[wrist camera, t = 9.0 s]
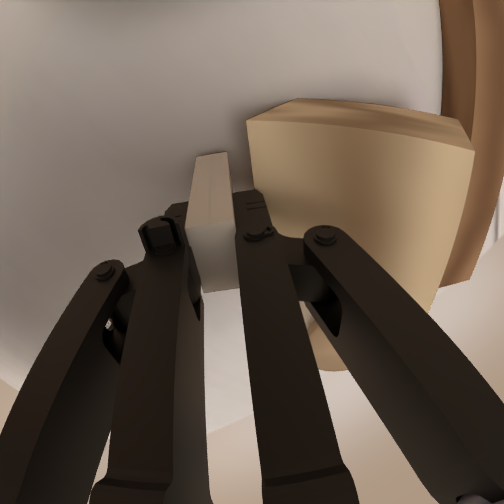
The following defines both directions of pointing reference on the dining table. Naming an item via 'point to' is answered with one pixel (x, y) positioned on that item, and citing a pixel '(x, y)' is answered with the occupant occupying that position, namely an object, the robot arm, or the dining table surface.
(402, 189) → the block
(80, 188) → the dining table surface
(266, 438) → the robot arm
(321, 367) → the sugar pot
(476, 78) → the board
